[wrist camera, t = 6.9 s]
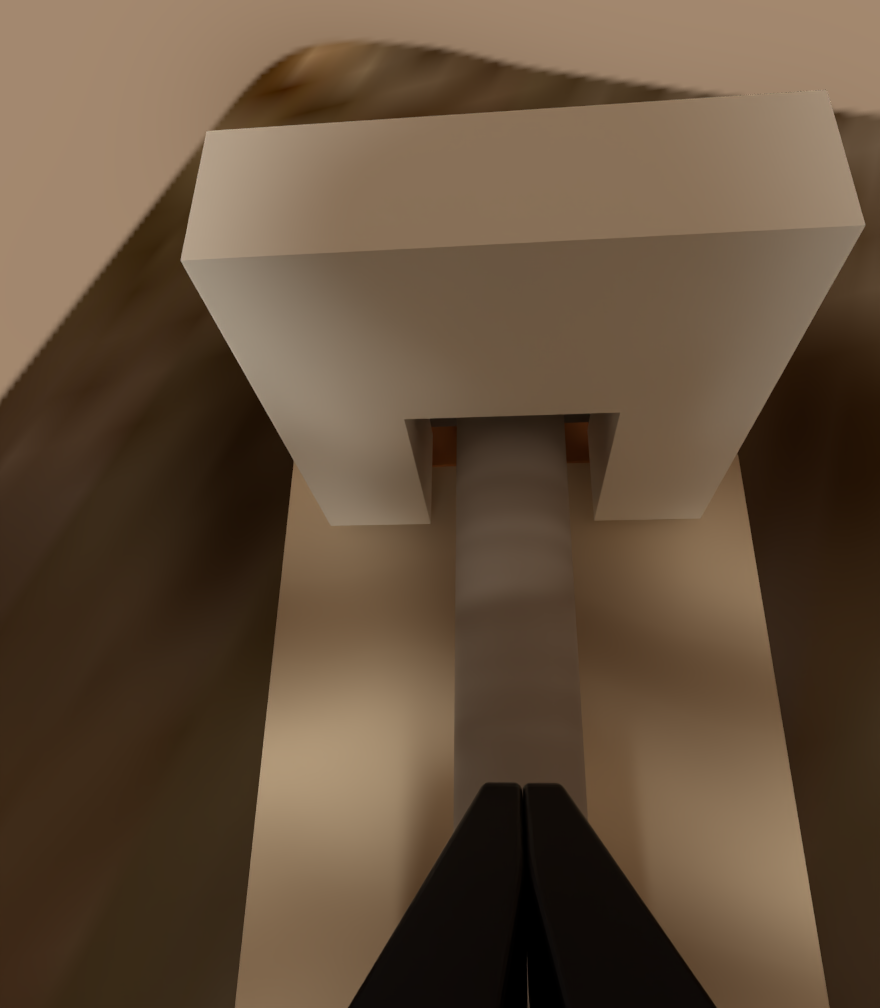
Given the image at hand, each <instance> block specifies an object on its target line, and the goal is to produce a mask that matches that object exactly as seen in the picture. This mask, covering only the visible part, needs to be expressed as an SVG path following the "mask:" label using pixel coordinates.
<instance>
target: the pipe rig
mask: <svg viewBox="0 0 880 1008" xmlns="http://www.w3.org/2000/svg"><path fill="white" fill-rule="evenodd" d="M588 424H589V422H577V423H564V414H556V415H525V416H493V417H462V418H457V426H448V427H431V428H432V433H433V449H432V493H431V524H402V525H351V526H331V525H330V524H329V522H328V520H327V518H326V517H325V515H324V513H323V511H322V510H321V508H320V506H319V504H318V502H317V501H316V499H315V497H314V495H313V494H312V492H311V490H310V488H309V487H308V485H307V483H306V481H305V480H304V478H303V476H302V474H301V472H300V471H299V469H298V467H297V465H296V464H295V462H294V465H293V474H292V484H291V493H290V502H289V511H288V521H287V530H286V539H285V548H284V558H283V567H282V576H281V585H280V595H279V604H278V613H277V623H276V632H275V641H274V650H273V660H272V669H271V678H270V687H269V697H268V706H267V715H266V724H265V734H264V743H263V752H262V762H261V771H260V780H259V789H258V799H257V808H256V817H255V826H254V836H253V845H252V854H251V863H250V873H249V882H248V891H247V901H246V910H245V919H244V928H243V938H242V947H241V956H240V965H239V975H238V984H237V993H236V1002H235V1008H348V1007H349V1005H350V1003H351V1002H352V1000H353V998H354V997H355V995H356V993H357V992H358V990H359V988H360V987H361V985H362V983H363V982H364V980H365V978H366V977H367V975H368V973H369V972H370V970H371V968H372V967H373V965H374V963H375V962H376V960H377V958H378V957H379V955H380V953H381V952H382V950H383V948H384V947H385V945H386V943H387V942H388V940H389V938H390V937H391V935H392V933H393V932H394V930H395V928H396V927H397V925H398V923H399V922H400V920H401V918H402V917H403V915H404V913H405V912H406V910H407V909H408V907H409V905H410V904H411V902H412V900H413V899H414V897H415V895H416V894H417V892H418V890H419V889H420V887H421V885H422V884H423V882H424V880H425V879H426V877H427V875H428V874H429V872H430V870H431V869H432V867H433V865H434V864H435V862H436V860H437V859H438V857H439V855H440V854H441V852H442V850H443V849H444V847H445V845H446V844H447V842H448V840H449V839H450V837H451V835H452V834H453V832H454V830H455V829H456V827H457V825H458V824H459V822H460V820H461V819H462V817H463V815H464V814H465V812H466V810H467V809H468V807H469V806H470V804H471V802H472V801H473V799H474V797H475V796H476V794H477V792H478V791H479V789H480V788H481V786H482V785H483V784H485V783H487V782H515V783H518V784H520V786H521V787H522V795H523V787H524V785H525V784H527V783H559V784H561V785H562V786H563V787H564V788H565V789H566V790H567V792H568V793H569V795H570V796H571V798H572V799H573V801H574V802H575V803H576V805H577V806H578V808H579V809H580V811H581V812H582V814H583V815H584V816H585V818H586V819H587V821H588V822H589V824H590V825H591V826H592V828H593V829H594V831H595V832H596V834H597V835H598V837H599V838H600V839H601V841H602V842H603V844H604V845H605V847H606V848H607V850H608V851H609V852H610V854H611V855H612V857H613V858H614V860H615V861H616V863H617V864H618V865H619V867H620V868H621V870H622V871H623V873H624V874H625V876H626V877H627V878H628V880H629V881H630V883H631V884H632V886H633V887H634V889H635V890H636V891H637V893H638V894H639V896H640V897H641V899H642V900H643V902H644V903H645V904H646V906H647V907H648V909H649V910H650V912H651V913H652V915H653V916H654V917H655V919H656V920H657V922H658V923H659V925H660V926H661V928H662V929H663V930H664V932H665V933H666V935H667V936H668V938H669V939H670V941H671V942H672V943H673V945H674V946H675V948H676V949H677V951H678V952H679V954H680V955H681V956H682V958H683V959H684V961H685V962H686V964H687V965H688V966H689V968H690V969H691V971H692V972H693V974H694V975H695V977H696V978H697V979H698V981H699V982H700V984H701V985H702V987H703V988H704V990H705V991H706V992H707V994H708V995H709V997H710V998H711V1000H712V1001H713V1003H714V1004H715V1005H716V1007H717V1008H829V1002H828V996H827V990H826V984H825V978H824V972H823V966H822V960H821V954H820V948H819V941H818V935H817V929H816V923H815V917H814V911H813V905H812V899H811V893H810V887H809V881H808V875H807V869H806V863H805V857H804V851H803V845H802V839H801V833H800V827H799V821H798V814H797V808H796V802H795V796H794V790H793V784H792V778H791V772H790V766H789V760H788V754H787V748H786V742H785V736H784V730H783V724H782V718H781V712H780V706H779V700H778V694H777V687H776V681H775V675H774V669H773V663H772V657H771V651H770V645H769V639H768V633H767V627H766V621H765V615H764V609H763V603H762V597H761V591H760V585H759V579H758V573H757V567H756V561H755V554H754V548H753V542H752V536H751V530H750V524H749V518H748V512H747V506H746V500H745V494H744V488H743V482H742V476H741V470H740V464H739V458H738V453H737V454H736V456H735V458H734V460H733V461H732V463H731V465H730V467H729V469H728V470H727V472H726V474H725V476H724V477H723V479H722V481H721V483H720V485H719V486H718V488H717V490H716V492H715V493H714V495H713V497H712V499H711V501H710V502H709V504H708V506H707V508H706V509H705V511H704V513H703V515H702V517H701V518H700V519H655V520H605V521H594V514H593V500H592V486H591V473H590V459H589V446H588V432H587V430H588ZM527 988H528V972H527ZM528 1008H529V996H528Z"/></svg>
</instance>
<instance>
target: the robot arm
mask: <svg viewBox="0 0 880 1008" xmlns="http://www.w3.org/2000/svg"><path fill="white" fill-rule="evenodd" d="M527 972H528V988H527ZM528 996H529V1008H717V1007H716V1005H715V1004H714V1003H713V1001H712V1000H711V998H710V997H709V995H708V994H707V992H706V991H705V990H704V988H703V987H702V985H701V984H700V982H699V981H698V979H697V978H696V977H695V975H694V974H693V972H692V971H691V969H690V968H689V966H688V965H687V964H686V962H685V961H684V959H683V958H682V956H681V955H680V954H679V952H678V951H677V949H676V948H675V946H674V945H673V943H672V942H671V941H670V939H669V938H668V936H667V935H666V933H665V932H664V930H663V929H662V928H661V926H660V925H659V923H658V922H657V920H656V919H655V917H654V916H653V915H652V913H651V912H650V910H649V909H648V907H647V906H646V904H645V903H644V902H643V900H642V899H641V897H640V896H639V894H638V893H637V891H636V890H635V889H634V887H633V886H632V884H631V883H630V881H629V880H628V878H627V877H626V876H625V874H624V873H623V871H622V870H621V868H620V867H619V865H618V864H617V863H616V861H615V860H614V858H613V857H612V855H611V854H610V852H609V851H608V850H607V848H606V847H605V845H604V844H603V842H602V841H601V839H600V838H599V837H598V835H597V834H596V832H595V831H594V829H593V828H592V826H591V825H590V824H589V822H588V821H587V819H586V818H585V816H584V815H583V814H582V812H581V811H580V809H579V808H578V806H577V805H576V803H575V802H574V801H573V799H572V798H571V796H570V795H569V793H568V792H567V790H566V789H565V788H564V787H563V786H562V785H561V784H559V783H527V784H525V785H524V787H523V795H522V787H521V786H520V784H518V783H515V782H487V783H485V784H483V785H482V786H481V788H480V789H479V791H478V792H477V794H476V796H475V797H474V799H473V801H472V802H471V804H470V806H469V807H468V809H467V810H466V812H465V814H464V815H463V817H462V819H461V820H460V822H459V824H458V825H457V827H456V829H455V830H454V832H453V834H452V835H451V837H450V839H449V840H448V842H447V844H446V845H445V847H444V849H443V850H442V852H441V854H440V855H439V857H438V859H437V860H436V862H435V864H434V865H433V867H432V869H431V870H430V872H429V874H428V875H427V877H426V879H425V880H424V882H423V884H422V885H421V887H420V889H419V890H418V892H417V894H416V895H415V897H414V899H413V900H412V902H411V904H410V905H409V907H408V909H407V910H406V912H405V913H404V915H403V917H402V918H401V920H400V922H399V923H398V925H397V927H396V928H395V930H394V932H393V933H392V935H391V937H390V938H389V940H388V942H387V943H386V945H385V947H384V948H383V950H382V952H381V953H380V955H379V957H378V958H377V960H376V962H375V963H374V965H373V967H372V968H371V970H370V972H369V973H368V975H367V977H366V978H365V980H364V982H363V983H362V985H361V987H360V988H359V990H358V992H357V993H356V995H355V997H354V998H353V1000H352V1002H351V1003H350V1005H349V1007H348V1008H528Z"/></svg>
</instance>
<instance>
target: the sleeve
mask: <svg viewBox="0 0 880 1008" xmlns="http://www.w3.org/2000/svg"><path fill="white" fill-rule="evenodd" d="M864 227H865V222H864V218H863V215H862V211H861V208H860V204H859V201H858V197H857V194H856V190H855V187H854V183H853V180H852V176H851V173H850V169H849V166H848V162H847V159H846V155H845V151H844V148H843V144H842V141H841V137H840V134H839V130H838V127H837V123H836V120H835V116H834V113H833V109H832V106H831V102H830V99H829V95H828V92H827V90H815V91H800V92H785V93H770V94H755V95H740V96H725V97H710V98H695V99H680V100H665V101H650V102H635V103H620V104H605V105H590V106H575V107H560V108H545V109H530V110H515V111H501V112H486V113H471V114H456V115H441V116H426V117H411V118H396V119H381V120H366V121H351V122H336V123H321V124H306V125H291V126H276V127H261V128H246V129H231V130H216V131H207V132H206V137H205V142H204V147H203V152H202V157H201V162H200V167H199V172H198V177H197V182H196V186H195V191H194V196H193V201H192V206H191V211H190V216H189V221H188V226H187V231H186V236H185V241H184V246H183V251H182V256H181V262H182V264H183V266H184V268H185V269H186V271H187V273H188V275H189V276H190V278H191V280H192V282H193V284H194V285H195V287H196V289H197V291H198V292H199V294H200V296H201V298H202V299H203V301H204V303H205V305H206V306H207V308H208V310H209V312H210V314H211V315H212V317H213V319H214V321H215V322H216V324H217V326H218V328H219V329H220V331H221V333H222V335H223V336H224V338H225V340H226V342H227V344H228V345H229V347H230V349H231V351H232V352H233V354H234V356H235V358H236V359H237V361H238V363H239V365H240V367H241V368H242V370H243V372H244V374H245V375H246V377H247V379H248V381H249V382H250V384H251V386H252V388H253V389H254V391H255V393H256V395H257V397H258V398H259V400H260V402H261V404H262V405H263V407H264V409H265V411H266V412H267V414H268V416H269V418H270V419H271V421H272V423H273V425H274V427H275V428H276V430H277V432H278V434H279V435H280V437H281V439H282V441H283V442H284V444H285V446H286V448H287V450H288V451H289V453H290V455H291V457H292V458H293V460H294V462H295V464H296V465H297V467H298V469H299V471H300V472H301V474H302V476H303V478H304V480H305V481H306V483H307V485H308V487H309V488H310V490H311V492H312V494H313V495H314V497H315V499H316V501H317V502H318V504H319V506H320V508H321V510H322V511H323V513H324V515H325V517H326V518H327V520H328V522H329V524H330V525H331V526H351V525H402V524H431V493H432V449H433V433H432V428H431V427H448V426H457V418H462V417H493V416H525V415H556V414H564V423H577V422H589V424H588V430H587V432H588V446H589V459H590V473H591V486H592V500H593V514H594V521H605V520H655V519H700V518H701V517H702V515H703V513H704V511H705V509H706V508H707V506H708V504H709V502H710V501H711V499H712V497H713V495H714V493H715V492H716V490H717V488H718V486H719V485H720V483H721V481H722V479H723V477H724V476H725V474H726V472H727V470H728V469H729V467H730V465H731V463H732V461H733V460H734V458H735V456H736V454H737V453H738V451H739V449H740V447H741V445H742V444H743V442H744V440H745V438H746V437H747V435H748V433H749V431H750V429H751V428H752V426H753V424H754V422H755V421H756V419H757V417H758V415H759V413H760V412H761V410H762V408H763V406H764V405H765V403H766V401H767V399H768V397H769V396H770V394H771V392H772V390H773V389H774V387H775V385H776V383H777V381H778V380H779V378H780V376H781V374H782V373H783V371H784V369H785V367H786V365H787V364H788V362H789V360H790V358H791V357H792V355H793V353H794V351H795V349H796V348H797V346H798V344H799V342H800V341H801V339H802V337H803V335H804V333H805V332H806V330H807V328H808V326H809V325H810V323H811V321H812V319H813V317H814V316H815V314H816V312H817V310H818V309H819V307H820V305H821V303H822V301H823V300H824V298H825V296H826V294H827V293H828V291H829V289H830V287H831V285H832V284H833V282H834V280H835V278H836V277H837V275H838V273H839V271H840V269H841V268H842V266H843V264H844V262H845V261H846V259H847V257H848V255H849V254H850V252H851V250H852V248H853V246H854V245H855V243H856V241H857V239H858V238H859V236H860V234H861V232H862V230H863V229H864Z"/></svg>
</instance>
